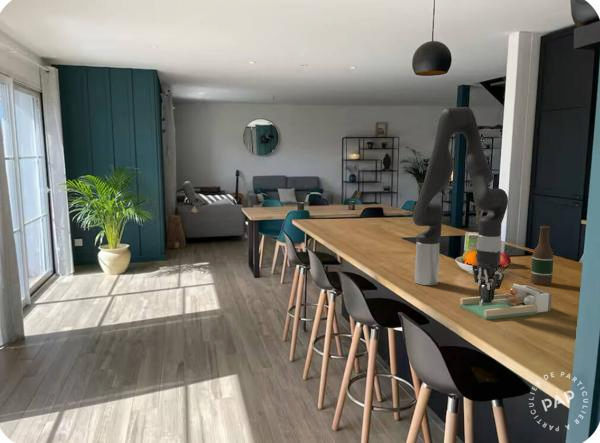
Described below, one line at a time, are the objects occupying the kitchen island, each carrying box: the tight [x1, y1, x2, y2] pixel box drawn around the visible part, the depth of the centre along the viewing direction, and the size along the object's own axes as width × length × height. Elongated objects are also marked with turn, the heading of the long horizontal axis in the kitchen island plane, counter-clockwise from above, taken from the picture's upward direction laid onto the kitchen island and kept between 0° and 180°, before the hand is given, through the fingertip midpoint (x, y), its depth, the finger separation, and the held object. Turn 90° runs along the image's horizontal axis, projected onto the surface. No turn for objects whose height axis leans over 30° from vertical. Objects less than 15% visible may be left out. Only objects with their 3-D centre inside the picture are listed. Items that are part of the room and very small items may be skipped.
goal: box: [512, 283, 553, 313], centre depth 165 cm, size 11×6×7 cm, turn 16°
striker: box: [479, 283, 521, 306], centre depth 161 cm, size 5×14×8 cm, turn 106°
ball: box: [523, 296, 534, 305], centre depth 165 cm, size 4×4×4 cm
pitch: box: [459, 293, 538, 321], centre depth 161 cm, size 14×20×3 cm
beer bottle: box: [530, 225, 555, 287], centre depth 194 cm, size 8×8×24 cm
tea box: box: [463, 231, 478, 253], centre depth 231 cm, size 15×10×15 cm, turn 81°
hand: (486, 298), depth 160 cm, fingers closed on striker, 3 cm apart
